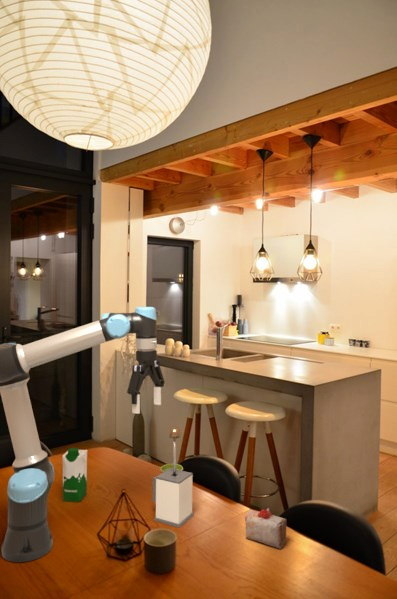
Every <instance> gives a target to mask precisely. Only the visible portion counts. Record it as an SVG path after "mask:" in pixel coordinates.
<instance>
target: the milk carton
mask: <svg viewBox="0 0 397 599" xmlns="http://www.w3.org/2000/svg"><path fill="white" fill-rule="evenodd" d="M61 456H62V460H61V461H62V501H63V502H73V503H74V502H75V503H80V502H82V500H83V499H84V498H85V496H86V495H87V486H88V485H87V484H88V482H87V481H88V477H87V476H88V472H87V470H88V449H79V448H78V447H70V448H68V449H67V451H66V452H65V453H64V454H63V455H61Z"/></svg>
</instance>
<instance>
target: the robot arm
mask: <svg viewBox="0 0 397 599" xmlns="http://www.w3.org/2000/svg"><path fill="white" fill-rule="evenodd" d="M100 318H101V319H99V320H95V321H93V322H90V323H87V324H84V325H81V326H77V327H75V328H71V329H68V330H66V331H62V332H60V333H56V334H54V335H50V336H48V337H44V338H42V339H39V340H35V341H33V342H30V343H26V344H23V345H22V344H20V343H14V342H8V343H7V342H5V343H2V344H0V396H1V402H2V404H3V405H2V406H3V410H4V413H5V414H4V415H5V417H6V418H5V419H6V423H7V426H8V432H9V435H10V439H11V444H12V448H13V452H14V456H15V459H14V461H13V463H12V464H11V465H12V469H13V470H12V471H13V473H14V474H13V475H11V476H10V478H9V479H8V483H7V484H8V485H7V487H6V488H7V489H6V490H7V527H6V528H7V529H6V532H5V536H4V539H3V541H2V544H1V556H2V558H3V559H4V560H6V561H8V562H11V563H26V562H31V561H35V560H38V559H39V558H40V559H41V558H42V557H44V556H46V554H48V553H50V551H51V550H52V549H53V545H54V544H53V540H54V539H53V535H52V532H51V529H50V527H49V524H48V497H49V494H50V489H51V486H52V485H53V482H54V479H55V470H54V465H53V464H52V462H51V461H50V460H49V459H50V458H49V455H48V453H47V451H46V450H43V449H42V446H41V441H40V437H39V433H38V429H37V424H36V419H35V416H34V412H33V408H32V407H33V406H32V401H31V399H30V394H29V389H28V385H27V383H28V382H29V380H30V374H29V371H30V370H31V368H35V367H38V366H40V365H44V364H46V363H49V362H52V361H55V360H58V359H61V358H64V357H66V356H67V357H68V356H70V355H72V354H76V353H78V352H81V351H84V350H87V349H90V348H93V347H95V346H98V345H101V344H105V343H106V342H107V343H108V342H110V341H114V340H116V339H118V340H120V339H123V338H125V337H126V336H127V335H128V334H133V335H134V334H135V349H136V351H135V361H137V362H138V363H137V364H138V365H136V364H135V365H132V372H131V375H130V379H129V384H128V387H127V391H126V393H127V394H128V395H131V411H132V412H131V413H132V414H136V415H137V414H138V415H139V414H141V405H140V404H141V402H140V401H141V399H140V395H141V394H139V392H140V390H141V387H142V385H143V382H144V381H145V379H146V378H147V377H150V379H151V380H152V383H153V385H154V386H153V405H157V406H162V388H163V387H165V383H166V382H165V379H164V375H163V372H162V369H161V364H160V360H158V351H157V348H158V346H157V345H158V344H157V343H158V342H157V341H158V340H157V336H158V334H157V310H156V307H153V306H135V309H134V311H133V312H107V313H104V312H103V313H102V314H101V317H100Z"/></svg>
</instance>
